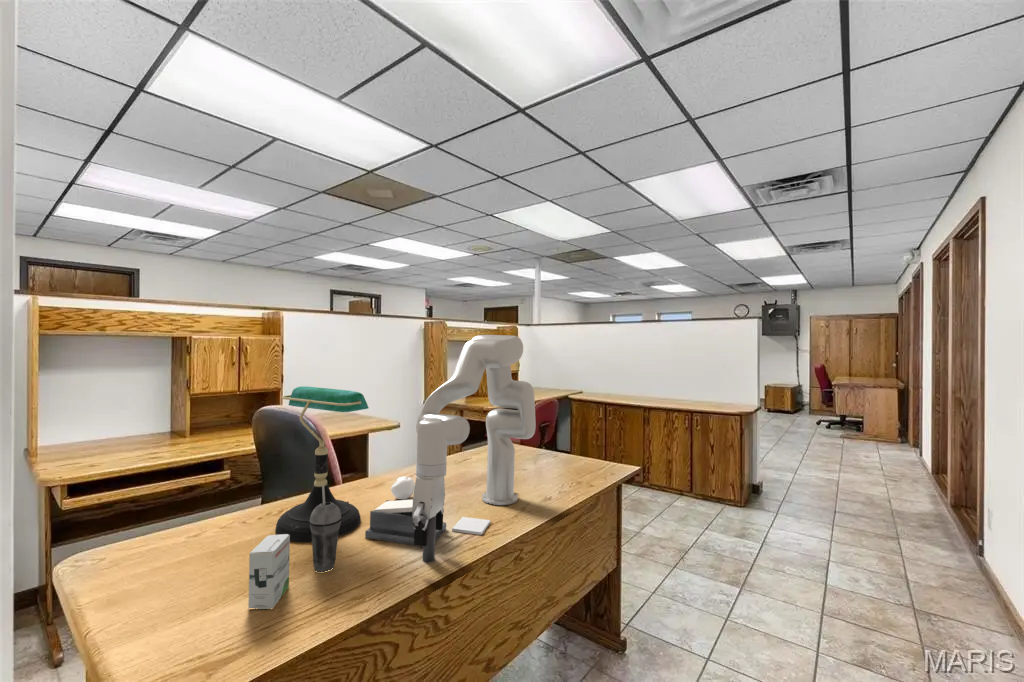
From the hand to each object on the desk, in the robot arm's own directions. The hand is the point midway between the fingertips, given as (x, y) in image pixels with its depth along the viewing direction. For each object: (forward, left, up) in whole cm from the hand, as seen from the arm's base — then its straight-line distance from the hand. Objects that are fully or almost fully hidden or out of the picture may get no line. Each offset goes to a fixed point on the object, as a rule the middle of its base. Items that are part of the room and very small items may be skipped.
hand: (428, 537), depth 113 cm
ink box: (+25, -25, -6) cm, 36 cm away
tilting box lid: (-12, -12, +2) cm, 17 cm away
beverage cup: (+11, -22, -6) cm, 25 cm away
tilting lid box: (-12, -12, -6) cm, 18 cm away
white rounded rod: (0, 0, -6) cm, 6 cm away
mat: (-22, +4, -6) cm, 23 cm away
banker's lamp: (-10, -39, -6) cm, 41 cm away
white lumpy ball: (-37, -26, -6) cm, 46 cm away
